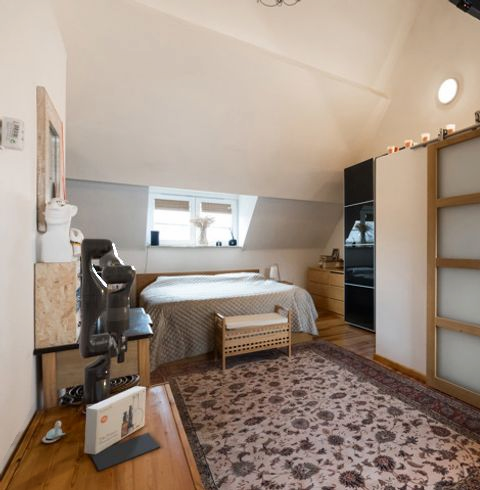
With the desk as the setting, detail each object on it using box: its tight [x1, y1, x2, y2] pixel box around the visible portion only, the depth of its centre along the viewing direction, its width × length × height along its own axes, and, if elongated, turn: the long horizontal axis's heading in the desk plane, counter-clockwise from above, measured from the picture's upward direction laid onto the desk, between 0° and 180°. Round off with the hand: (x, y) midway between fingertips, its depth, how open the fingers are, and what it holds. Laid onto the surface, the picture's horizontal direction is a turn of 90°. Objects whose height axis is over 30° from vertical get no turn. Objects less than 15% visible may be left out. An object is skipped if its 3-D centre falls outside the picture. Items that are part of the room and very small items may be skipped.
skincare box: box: [83, 385, 147, 455], centre depth 132 cm, size 21×6×16 cm, turn 168°
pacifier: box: [41, 420, 66, 444], centre depth 131 cm, size 7×6×6 cm
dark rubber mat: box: [89, 432, 161, 472], centre depth 125 cm, size 13×18×1 cm
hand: (116, 359), depth 133 cm, fingers open, 8 cm apart
